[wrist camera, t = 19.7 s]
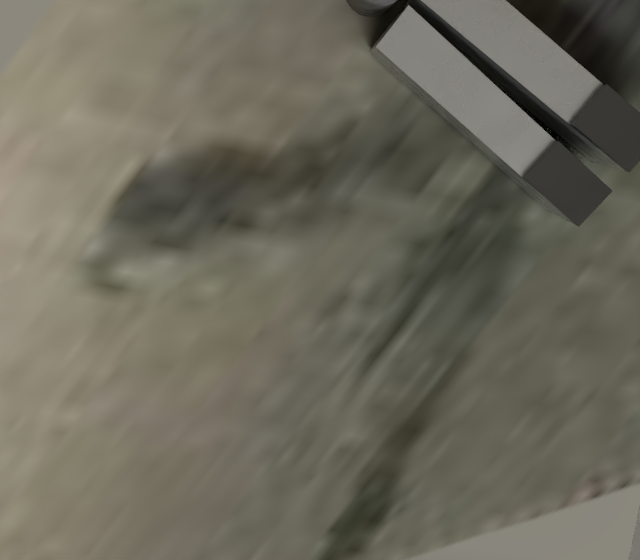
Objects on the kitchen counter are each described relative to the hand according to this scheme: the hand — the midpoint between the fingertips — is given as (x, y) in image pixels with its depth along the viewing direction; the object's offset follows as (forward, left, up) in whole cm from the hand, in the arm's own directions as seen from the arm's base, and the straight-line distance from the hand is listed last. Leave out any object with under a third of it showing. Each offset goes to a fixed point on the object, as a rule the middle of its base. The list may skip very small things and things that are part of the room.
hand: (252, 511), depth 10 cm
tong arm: (+10, +5, -27) cm, 29 cm away
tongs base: (+11, +8, -27) cm, 30 cm away
